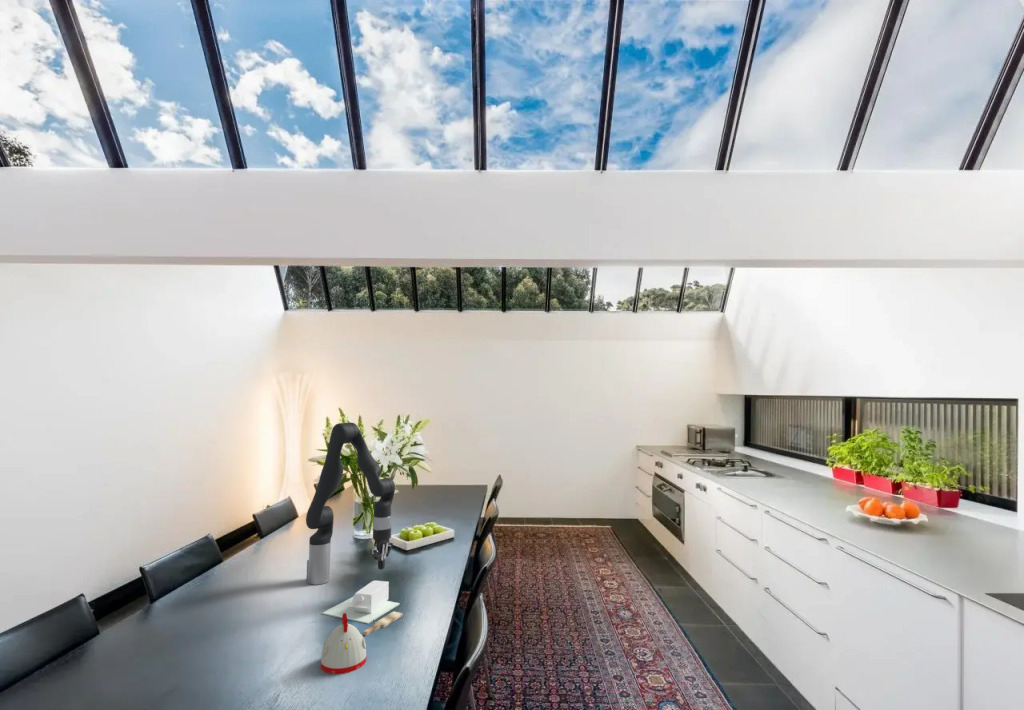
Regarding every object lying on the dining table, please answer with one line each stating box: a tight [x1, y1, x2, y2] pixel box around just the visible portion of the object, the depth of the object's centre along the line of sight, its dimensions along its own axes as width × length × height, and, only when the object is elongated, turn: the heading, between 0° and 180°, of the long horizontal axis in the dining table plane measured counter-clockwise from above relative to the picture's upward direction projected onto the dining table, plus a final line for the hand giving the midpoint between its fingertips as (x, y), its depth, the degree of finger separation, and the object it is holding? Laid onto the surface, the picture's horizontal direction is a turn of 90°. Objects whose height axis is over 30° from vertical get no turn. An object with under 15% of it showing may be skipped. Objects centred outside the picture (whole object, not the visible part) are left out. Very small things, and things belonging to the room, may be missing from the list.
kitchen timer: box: [320, 613, 367, 675], centre depth 170 cm, size 14×14×15 cm
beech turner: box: [362, 611, 404, 636], centre depth 198 cm, size 20×4×1 cm, turn 157°
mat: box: [321, 595, 401, 625], centre depth 211 cm, size 22×20×1 cm
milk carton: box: [349, 580, 390, 614], centre depth 212 cm, size 7×7×19 cm
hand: (381, 568), depth 223 cm, fingers closed
